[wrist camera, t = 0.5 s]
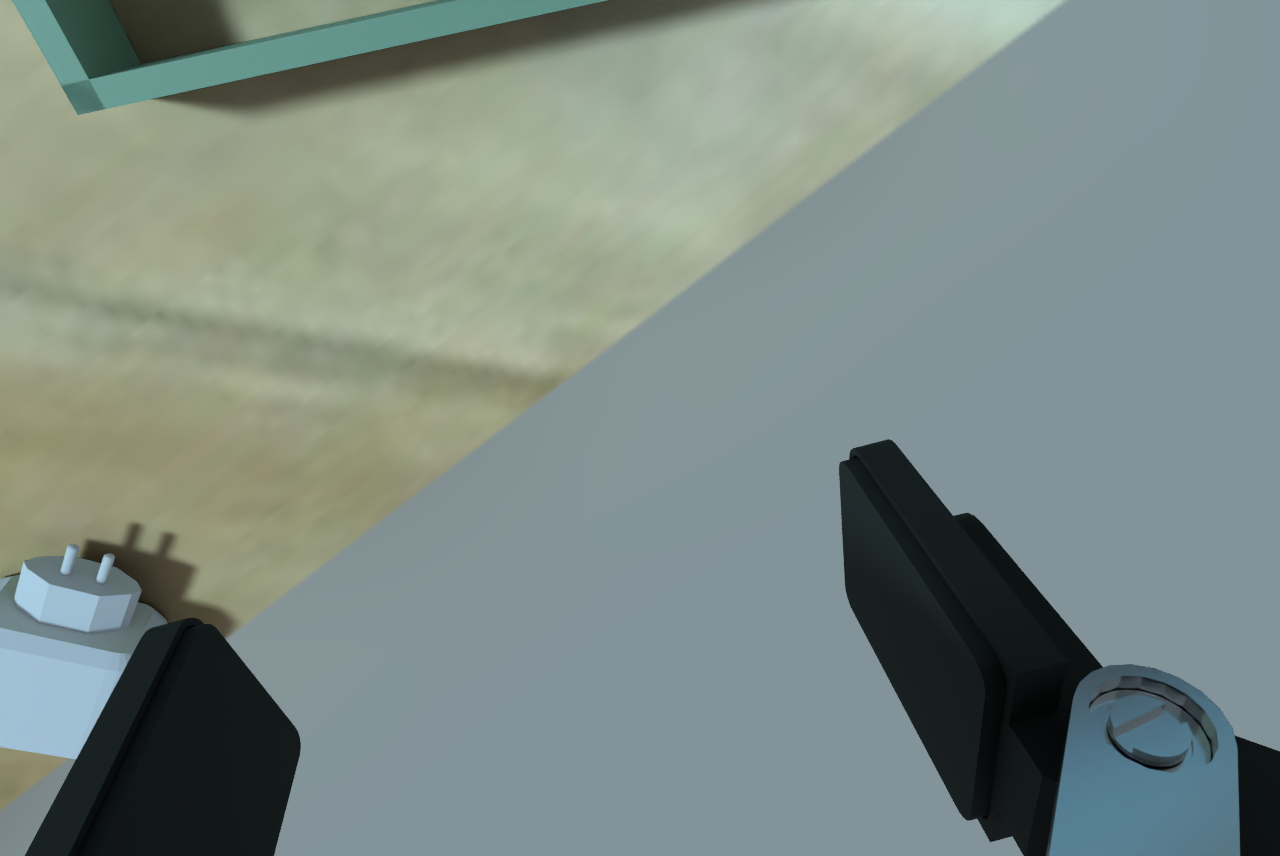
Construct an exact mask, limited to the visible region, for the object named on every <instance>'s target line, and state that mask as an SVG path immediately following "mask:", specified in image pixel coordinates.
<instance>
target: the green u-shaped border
mask: <svg viewBox="0 0 1280 856" xmlns="http://www.w3.org/2000/svg"><path fill="white" fill-rule="evenodd" d="M12 1H13V3H14V4H15V6H16V8H17V10H18V11H19V13H20V15H21V17H22V18H23V20H24V22H25V24H26V25H27V27H28V29H29V31H30V32H31V34H32V36H33V38H34V39H35V41H36V43H37V45H38V46H39V48H40V50H41V51H42V53H43V55H44V57H45V58H46V60H47V62H48V64H49V65H50V67H51V69H52V71H53V72H54V74H55V76H56V78H57V79H58V81H59V83H60V85H61V86H62V88H63V90H64V92H65V93H66V95H67V97H68V99H69V100H70V102H71V104H72V105H73V107H74V109H75V111H76V112H77V114H78V115H80V114H84V113H89V112H93V111H98V110H103V109H107V108H112V107H117V106H121V105H126V104H130V103H135V102H140V101H144V100H149V99H154V98H158V97H163V96H167V95H172V94H177V93H181V92H186V91H190V90H195V89H200V88H204V87H209V86H214V85H218V84H223V83H227V82H232V81H237V80H241V79H246V78H251V77H255V76H260V75H264V74H269V73H274V72H278V71H283V70H288V69H292V68H297V67H301V66H306V65H311V64H315V63H320V62H324V61H329V60H334V59H338V58H343V57H348V56H352V55H357V54H361V53H366V52H371V51H375V50H380V49H385V48H389V47H394V46H398V45H403V44H408V43H412V42H417V41H422V40H426V39H431V38H435V37H440V36H445V35H449V34H454V33H458V32H463V31H468V30H472V29H477V28H482V27H486V26H491V25H495V24H500V23H505V22H509V21H514V20H519V19H523V18H528V17H532V16H537V15H542V14H546V13H551V12H555V11H560V10H565V9H569V8H574V7H579V6H583V5H588V4H592V3H597V2H602V1H606V0H437V1H433V2H428V3H423V4H419V5H414V6H409V7H405V8H400V9H395V10H391V11H386V12H381V13H377V14H372V15H367V16H363V17H358V18H353V19H349V20H344V21H339V22H335V23H330V24H325V25H321V26H316V27H312V28H307V29H302V30H298V31H293V32H288V33H284V34H279V35H274V36H270V37H265V38H260V39H256V40H251V41H246V42H242V43H237V44H232V45H228V46H223V47H218V48H214V49H209V50H204V51H200V52H195V53H190V54H186V55H181V56H177V57H172V58H167V59H163V60H158V61H153V62H149V63H144V64H141V63H140V61H139V59H138V57H137V55H136V53H135V51H134V49H133V47H132V45H131V43H130V41H129V39H128V37H127V35H126V33H125V31H124V29H123V28H122V26H121V24H120V22H119V20H118V18H117V16H116V14H115V12H114V10H113V8H112V6H111V4H110V2H109V0H12Z"/></svg>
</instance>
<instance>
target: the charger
mask: <svg viewBox="0 0 1280 856" xmlns="http://www.w3.org/2000/svg"><path fill="white" fill-rule="evenodd" d="M78 551H79V546H78V545H76V544H70V545H68V546H67V550H66V553H65V556H49V557H36V558H33V559H29V560H26V561H24V562H23V566H22V570H21V574H20V575H15V576H11V577H6V578H2V579H0V747H4V748H11V749H17V750H23V751H29V752H35V753H41V754H47V755H54V756H60V757H66V758H72V759H77V757H78V755H79V753H80V751H81V749H82V748H83V746H84V744H85V742H86V740H87V738H88V736H89V734H90V733H91V731H92V729H93V727H94V725H95V723H96V721H97V719H98V718H99V716H100V714H101V712H102V710H103V708H104V706H105V704H106V703H107V701H108V699H109V697H110V695H111V693H112V691H113V689H114V688H115V686H116V684H117V682H118V680H119V678H120V676H121V674H122V673H123V671H124V669H125V667H126V665H127V663H128V661H129V659H130V658H131V656H132V654H133V652H134V650H135V648H136V646H137V644H138V643H139V641H140V639H141V637H142V636H143V634H144V633H145V632H146V631H147V630H149V629H150V628H152V627H156V626H160V625H164V624H167V621H166V619H165V618H164V617H163V616H162V615H161V614H159V613H158V612H157V611H156V610H155V609H153V608H152V607H151V606H149V605H147V604H143V603H140V602H138V599H139V597H140V594H141V591H142V590H141V588H140V586H139V585H138V583H137V581H135V580H134V579H132V578H131V577H129V576H128V575H127V574H125V573H124V572H122V571H121V570H120V569H118V568H117V567H113V566H112V565H113V562H114V559H115V556H114V555H113V554H110V553H109V554H105V555H104V557H103V560H102V563H97V562H93V561H90V560H86V559H82V558H78V557H77V554H78Z"/></svg>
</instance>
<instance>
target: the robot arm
mask: <svg viewBox="0 0 1280 856" xmlns="http://www.w3.org/2000/svg"><path fill="white" fill-rule="evenodd" d="M839 476H840V493H841V494H840V495H841V515H842V534H843V552H844V571H845V587H846V593H847V597H848V600H849V603H850V606H851V608H852V610H853V612H854V614H855V616H856V618H857V620H858V622H859V624H860V625H861V627H862V629H863V631H864V633H865V635H866V637H867V639H868V641H869V642H870V644H871V646H872V648H873V650H874V652H875V654H876V656H877V658H878V659H879V661H880V663H881V665H882V667H883V669H884V671H885V672H886V674H887V676H888V678H889V680H890V682H891V684H892V686H893V688H894V690H895V692H896V693H897V695H898V697H899V699H900V701H901V703H902V705H903V707H904V709H905V711H906V712H907V714H908V716H909V718H910V720H911V722H912V724H913V726H914V728H915V729H916V731H917V733H918V735H919V737H920V739H921V740H922V743H923V744H924V746H925V748H926V750H927V752H928V754H929V756H930V758H931V759H932V761H933V764H934V765H935V767H936V769H937V771H938V773H939V775H940V777H941V779H942V780H943V782H944V784H945V786H946V788H947V790H948V792H949V794H950V795H951V798H952V799H953V801H954V803H955V805H956V807H957V809H958V810H959V812H960V813H961V815H962V816H963V817H964V818H965V819H966V820H973V819H978V820H979V822H980V824H981V826H982V828H983V830H984V831H985V833H986V835H987V837H988V839H989V841H990V842H992V841H996V840H1000V839H1004V838H1007V837H1011V836H1013V838H1014V839H1015V841H1016V843H1017V845H1018V847H1019V848H1020V850H1021V852H1022V854H1023V855H1024V856H1280V751H1277V750H1274V749H1271V748H1268V747H1266V746H1263V745H1260V744H1257V743H1254V742H1251V741H1249V740H1246V739H1243V738H1240V737H1237V736H1235V735H1234V732H1233V728H1232V726H1231V725H1230V723H1229V722H1228V720H1227V719H1226V717H1225V715H1224V714H1223V712H1222V711H1221V709H1220V708H1219V707H1218V706H1217V705H1216V704H1215V703H1214V702H1213V701H1211V700H1210V699H1209V698H1208V697H1207V696H1206V695H1205V694H1204V693H1203V692H1202V691H1200V690H1199V689H1197V688H1195V687H1194V686H1192V685H1191V684H1189V683H1187V682H1186V681H1184V680H1182V679H1181V678H1179V677H1176V676H1174V675H1171V674H1169V673H1166V672H1163V671H1161V670H1158V669H1155V668H1150V667H1145V666H1138V665H1133V664H1126V665H1109V666H1106V667H1104V668H1103V667H1102V666H1101V665H1100V663H1099V662H1098V661H1097V660H1096V658H1095V657H1094V656H1093V655H1092V654H1091V652H1090V651H1089V650H1088V649H1087V648H1086V646H1085V645H1084V644H1083V643H1082V642H1081V641H1080V639H1079V638H1078V637H1077V636H1076V635H1075V633H1074V632H1073V631H1072V630H1071V629H1070V627H1069V626H1068V625H1067V624H1066V623H1065V621H1064V620H1063V619H1062V618H1061V617H1060V615H1059V614H1058V613H1057V612H1056V611H1055V609H1054V608H1053V607H1052V606H1051V605H1050V604H1049V602H1048V601H1047V600H1046V599H1045V598H1044V597H1043V595H1042V594H1041V593H1040V592H1039V590H1038V589H1037V588H1036V587H1035V586H1034V584H1033V583H1032V582H1031V581H1030V580H1029V578H1028V577H1027V576H1026V575H1025V574H1024V572H1023V571H1021V569H1020V568H1019V567H1018V566H1017V564H1016V563H1015V562H1014V561H1013V559H1012V558H1011V557H1010V556H1009V555H1008V553H1007V552H1006V551H1005V550H1004V549H1003V547H1002V546H1001V545H1000V544H999V543H998V542H997V540H996V539H995V538H994V537H993V536H992V534H991V533H990V532H989V531H988V530H987V528H986V527H985V526H984V525H983V524H982V523H981V522H980V521H979V520H978V519H977V518H976V517H975V516H973V515H971V514H969V513H964V514H960V515H956V516H953V515H952V514H951V513H950V512H949V510H948V509H947V508H946V507H945V505H944V504H943V503H942V502H941V500H940V499H939V498H938V497H937V495H936V494H935V493H934V492H933V490H932V489H931V488H930V487H929V485H928V484H927V483H926V482H925V480H924V479H923V478H922V476H921V475H920V474H919V473H918V472H917V470H916V469H915V468H914V467H913V465H912V464H911V463H910V462H909V460H908V459H907V458H906V456H905V455H904V454H903V453H902V452H901V450H900V449H899V448H898V446H897V445H896V444H895V443H894V442H893V441H892V440H885V441H881V442H876V443H872V444H869V445H865V446H861V447H857V448H853V449H852V450H851V451H850V457H849V460H846V461H842V462H840V465H839ZM300 744H301V743H300V737H299V734H298V731H297V729H296V728H295V726H294V725H293V724H292V723H291V721H290V720H289V719H288V718H287V716H286V715H285V714H284V713H283V711H282V710H281V709H280V708H279V706H278V705H277V704H276V702H275V701H274V700H273V699H272V697H271V696H270V695H269V694H268V693H267V691H266V690H265V689H264V687H263V686H262V685H261V684H260V682H259V681H258V680H257V679H256V677H255V676H254V675H253V674H252V672H251V671H250V670H249V669H248V668H247V666H246V665H245V664H244V662H243V661H242V660H241V658H240V657H239V656H238V655H237V653H236V652H235V651H234V650H233V649H232V647H231V646H230V645H229V643H228V642H227V641H226V640H225V638H224V637H223V636H222V635H221V633H220V632H219V631H218V630H217V629H216V628H215V627H214V626H213V625H211V624H204V623H203V622H202V621H201V620H199V619H196V618H187V619H183V620H180V621H176V622H172V623H168V624H164V625H160V626H156V627H152V628H150V629H149V630H147V631H146V632H145V633H144V634H143V636H142V637H141V639H140V641H139V643H138V644H137V646H136V648H135V650H134V652H133V654H132V656H131V658H130V659H129V661H128V663H127V665H126V667H125V669H124V671H123V673H122V674H121V676H120V678H119V680H118V682H117V684H116V686H115V688H114V689H113V691H112V693H111V695H110V697H109V699H108V701H107V703H106V704H105V706H104V708H103V710H102V712H101V714H100V716H99V718H98V719H97V721H96V723H95V725H94V727H93V729H92V731H91V733H90V734H89V736H88V738H87V740H86V742H85V744H84V746H83V748H82V749H81V751H80V753H79V755H78V757H77V759H76V761H75V763H74V765H73V766H72V768H71V770H70V772H69V774H68V776H67V778H66V779H65V782H64V783H63V785H62V787H61V789H60V791H59V793H58V794H57V796H56V798H55V800H54V802H53V804H52V806H51V808H50V810H49V812H48V813H47V815H46V817H45V819H44V821H43V823H42V824H41V826H40V828H39V830H38V832H37V834H36V836H35V838H34V839H33V841H32V843H31V845H30V847H29V849H28V851H27V853H26V855H25V856H274V853H275V849H276V845H277V841H278V837H279V833H280V830H281V826H282V822H283V818H284V814H285V810H286V806H287V802H288V798H289V795H290V791H291V786H292V783H293V779H294V775H295V771H296V767H297V763H298V759H299V756H300V746H301V745H300Z"/></svg>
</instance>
